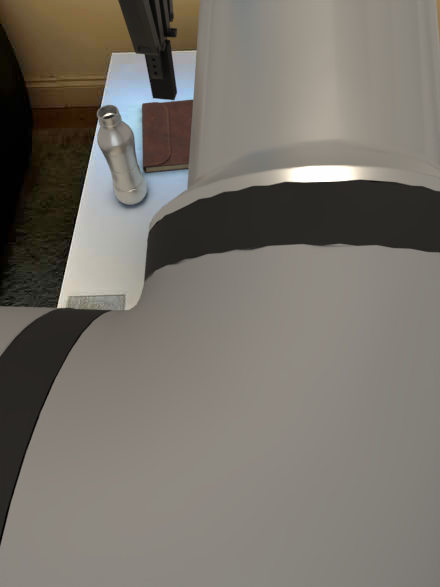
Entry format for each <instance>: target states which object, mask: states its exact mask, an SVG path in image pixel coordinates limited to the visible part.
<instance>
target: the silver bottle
mask: <svg viewBox="0 0 440 587" xmlns="http://www.w3.org/2000/svg"><path fill="white" fill-rule="evenodd" d="M96 116H97V119H98V121H97V122H98V125H99V129H98V131H97V135H96V138H97V139H96V142H97V145H98V147H99V149H100V151H101V153H102V155H103V157H104V158H105V161H106V164H107V165H108V168H109V171H110V175H111V180H112V188H113V194H114V196H115V197H116V199H117V200H118V201H119V202H120V203H122V204H125V205H128V206H133V205H136V204H139V203H140V202H142V201H143V200H144V198H145V197H146V195H147V191H148V189H147V187H148V186H147V181H146V179H145V176H144V174H142V171H141V168H140V165H139V163H138V158H137V152H136V143H135V142H136V141H135V134H134V131H133V129H132V128H131V126H130V125H128V123H126V122H125V121H124V120H123V118H122V114H121V113H120V109H119V108H118V106H116V105H114V104H105V105H102V106H101V107H99V108H98V109H97V112H96Z"/></svg>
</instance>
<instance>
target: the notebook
mask: <svg viewBox="0 0 440 587" xmlns="http://www.w3.org/2000/svg"><path fill="white" fill-rule="evenodd" d="M192 111H193V99H186V100H171V101H163V102H159V101H153V102H152V101H151V102H142V104H141V132H142V134H141V135H142V171H143V173H145V174H149V173H159V172H160V173H161V172H168V171H169V172H170V171H180V170H189V155H190V141H191V126H192Z"/></svg>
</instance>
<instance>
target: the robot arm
mask: <svg viewBox="0 0 440 587" xmlns="http://www.w3.org/2000/svg"><path fill="white" fill-rule="evenodd" d="M117 1H118V4H119V7H120V10H121V13H122V17H123V19H124V23H125V27H126V29H127V32H128V35H129V38H130V41H131V44H132V47H133V51H134V53H135V54H137V55H144V59H145V65H146V69H147V76H148V80H149V85H150V91H151V96H152V99H156V100H165V101H167V100H168V101H176V98H177V93H178V88H177V80H176V75H175V74H176V73H175V66H174V59H173V52H172V51H173V50H172V44H171V39H169V38H177V36H178V28H177V27H171V23H173V21H174V19H175V13H174V0H117ZM197 25H198V26H197V37H196V38H197V39H196V40H197V41H196V51H195V52H196V53H195V54H196V55H195V68H194V69H195V70H194V81H193V82H194V84H193V98H192V100H193V111H192V126H191V141H190V155H189V169H187V170H188V172H187V187H186V190H184V191H183V192H181V193H179V194H178V195H177V196H176V197H174V198H173V199H172V200H170V201H168V202H167V203H166V204H164V205H163V206H162V207H161V208H160V209H159V210H158V211H157V212H156V213H155V214H154V215H153V217H152V219H151V221H149V222H150V223H149V227H148V233H147V240H146V252H145V253H146V254H145V264H144V265H145V266H144V276H143V277H144V278H143V286H142V290H141V292H140V296H139V299H138V301H137V303H136V304H135V305H134V306H133V307H131V308H129V309H95V308H94V309H91V308H75V307H42V306H41V307H40V306H39V307H38V306H37V307H36V306H9V305H8V306H5V305H4V306H3V305H0V587H440V30H439V18H438V5H437V0H199V8H198V24H197Z"/></svg>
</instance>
